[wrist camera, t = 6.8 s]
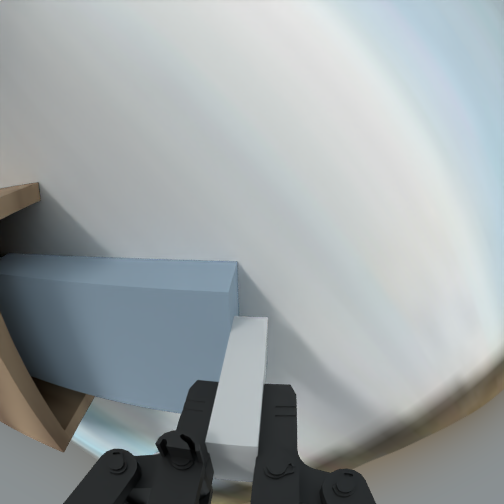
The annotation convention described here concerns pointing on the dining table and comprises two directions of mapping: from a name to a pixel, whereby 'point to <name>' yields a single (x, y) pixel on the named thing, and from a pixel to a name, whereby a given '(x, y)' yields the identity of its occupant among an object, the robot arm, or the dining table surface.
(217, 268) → the panel
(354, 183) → the dining table surface
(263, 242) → the dining table surface
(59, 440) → the shelf
